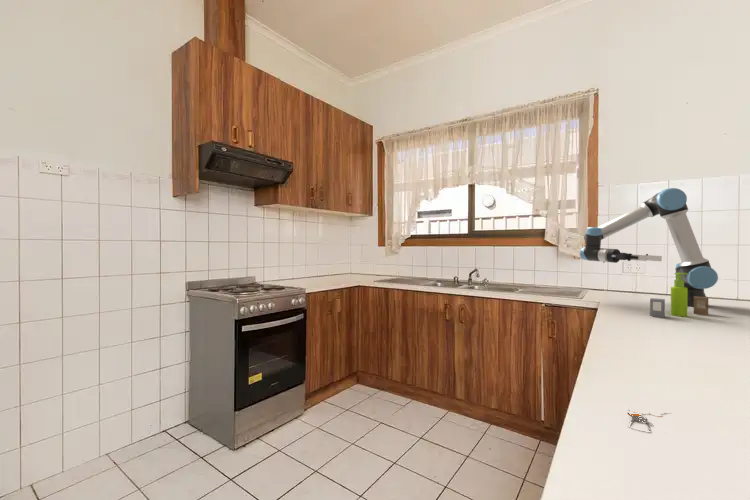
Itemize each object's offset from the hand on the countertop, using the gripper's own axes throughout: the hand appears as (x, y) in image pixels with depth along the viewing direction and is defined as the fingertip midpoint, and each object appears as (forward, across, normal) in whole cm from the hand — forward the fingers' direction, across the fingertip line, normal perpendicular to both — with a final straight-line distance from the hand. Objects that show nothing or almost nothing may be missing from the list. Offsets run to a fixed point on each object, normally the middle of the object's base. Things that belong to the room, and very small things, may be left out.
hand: (653, 258), depth 174 cm
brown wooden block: (+15, -12, -25) cm, 32 cm away
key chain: (+61, +125, -29) cm, 142 cm away
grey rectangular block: (+9, +12, -26) cm, 31 cm away
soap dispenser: (+13, +1, -26) cm, 29 cm away
